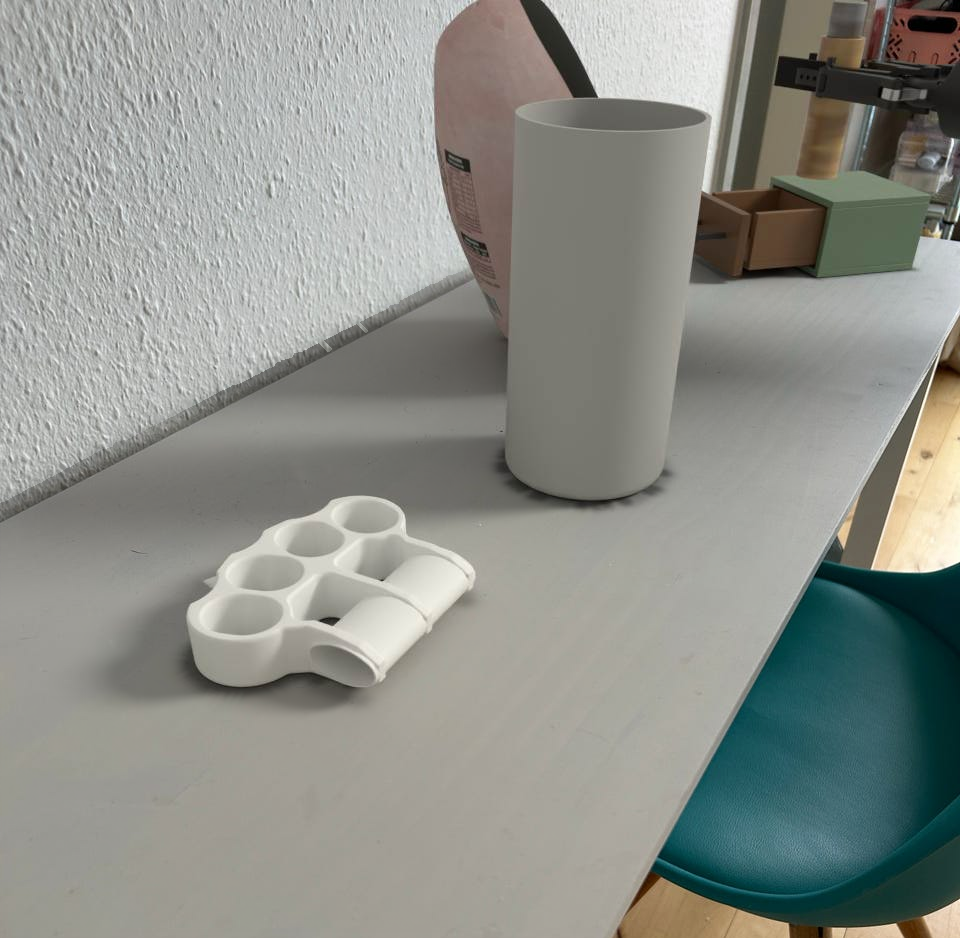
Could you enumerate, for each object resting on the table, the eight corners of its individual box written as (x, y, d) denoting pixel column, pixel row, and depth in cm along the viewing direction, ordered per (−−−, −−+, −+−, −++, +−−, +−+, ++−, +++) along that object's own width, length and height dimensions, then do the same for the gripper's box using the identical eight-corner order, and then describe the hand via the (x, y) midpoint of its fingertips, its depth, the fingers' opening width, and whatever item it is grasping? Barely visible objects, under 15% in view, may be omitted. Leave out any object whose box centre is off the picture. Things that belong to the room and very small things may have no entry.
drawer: (694, 279, 115) (703, 217, 111) (648, 250, 124) (655, 192, 120) (824, 268, 119) (837, 208, 115) (770, 240, 128) (780, 184, 124)
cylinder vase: (694, 485, 76) (752, 123, 61) (552, 518, 71) (576, 137, 56) (609, 422, 85) (641, 93, 70) (478, 448, 80) (482, 104, 65)
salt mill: (844, 178, 107) (882, 3, 97) (809, 181, 106) (844, 3, 96) (821, 170, 110) (856, -1, 100) (787, 172, 109) (818, 0, 99)
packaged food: (671, 388, 91) (724, 2, 73) (464, 405, 87) (466, 4, 69) (595, 310, 108) (623, -18, 90) (419, 322, 104) (411, -18, 86)
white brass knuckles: (345, 734, 53) (138, 653, 58) (498, 574, 65) (317, 520, 71) (340, 686, 51) (127, 607, 56) (499, 530, 63) (313, 478, 69)
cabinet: (816, 277, 119) (833, 201, 114) (758, 247, 129) (771, 176, 124) (911, 269, 122) (931, 194, 117) (847, 239, 133) (863, 170, 127)
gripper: (932, 154, 89) (733, 116, 103) (1033, 134, 97) (836, 101, 112) (958, 57, 84) (745, 32, 99) (1061, 45, 93) (852, 23, 107)
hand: (794, 69), depth 105 cm, fingers closed on salt mill, 4 cm apart
